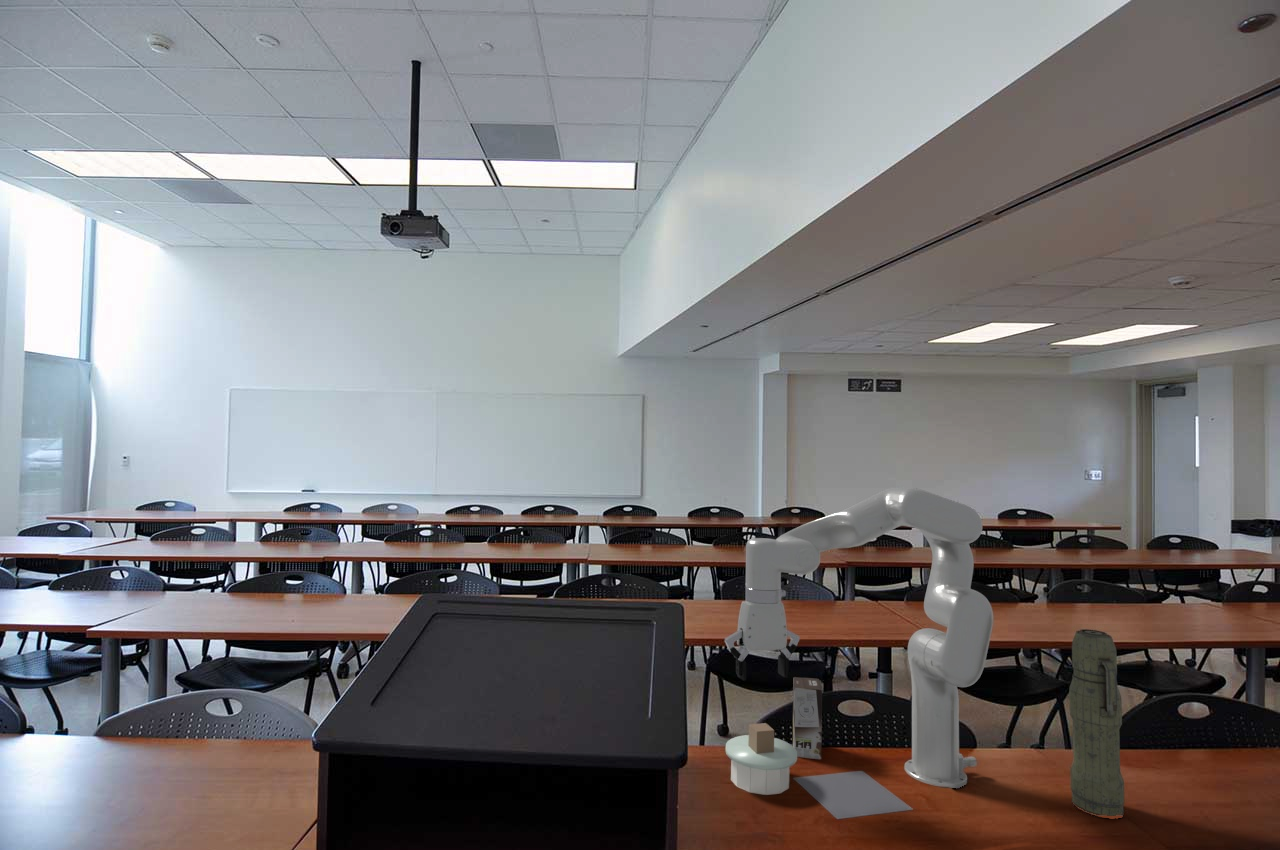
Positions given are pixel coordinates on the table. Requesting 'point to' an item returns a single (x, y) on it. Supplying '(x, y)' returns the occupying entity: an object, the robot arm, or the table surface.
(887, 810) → the mat
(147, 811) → the table surface
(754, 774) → the bowl
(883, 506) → the robot arm
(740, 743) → the lid
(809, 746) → the coffee box
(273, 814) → the table surface
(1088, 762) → the thermos
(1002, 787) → the table surface
